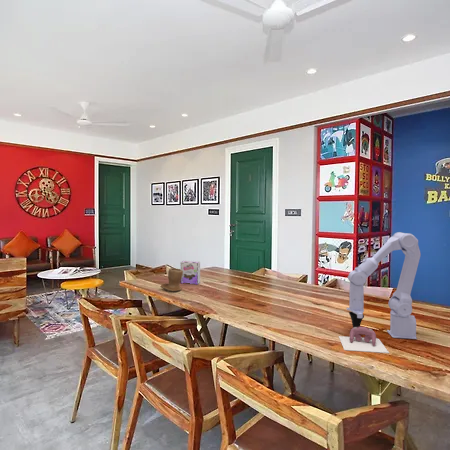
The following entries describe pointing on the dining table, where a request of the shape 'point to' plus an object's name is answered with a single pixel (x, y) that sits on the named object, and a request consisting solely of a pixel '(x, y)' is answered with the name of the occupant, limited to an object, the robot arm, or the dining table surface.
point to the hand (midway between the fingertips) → (356, 329)
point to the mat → (362, 345)
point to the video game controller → (365, 331)
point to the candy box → (190, 272)
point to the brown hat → (173, 280)
